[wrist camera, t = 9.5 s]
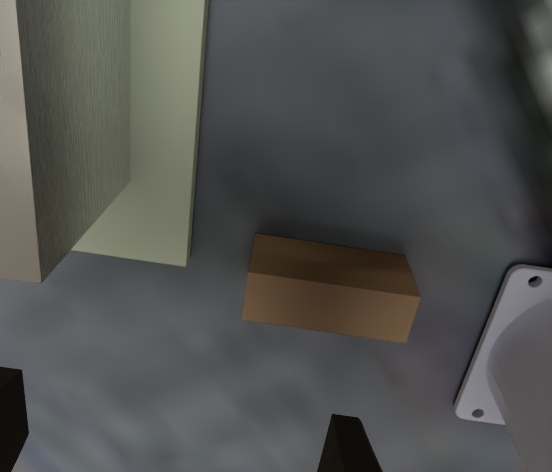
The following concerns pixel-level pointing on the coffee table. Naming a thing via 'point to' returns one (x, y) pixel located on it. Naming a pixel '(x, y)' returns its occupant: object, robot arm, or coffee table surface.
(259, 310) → the cardboard parcel
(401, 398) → the coffee table surface
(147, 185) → the sage board
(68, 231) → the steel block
